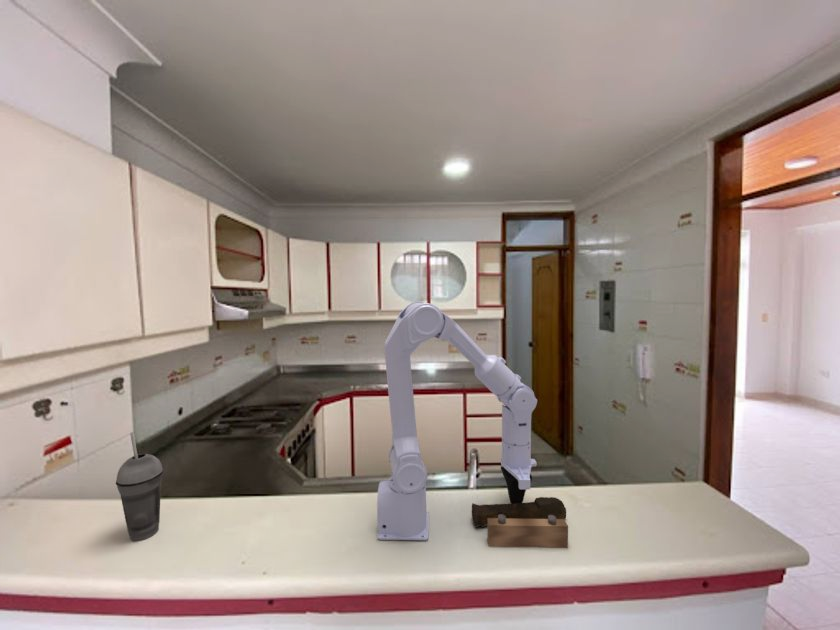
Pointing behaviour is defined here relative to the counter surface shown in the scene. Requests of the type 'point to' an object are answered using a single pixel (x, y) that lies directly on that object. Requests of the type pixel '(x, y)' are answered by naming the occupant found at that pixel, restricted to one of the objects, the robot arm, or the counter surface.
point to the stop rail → (527, 532)
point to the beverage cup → (140, 493)
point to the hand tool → (519, 510)
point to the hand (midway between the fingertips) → (515, 503)
